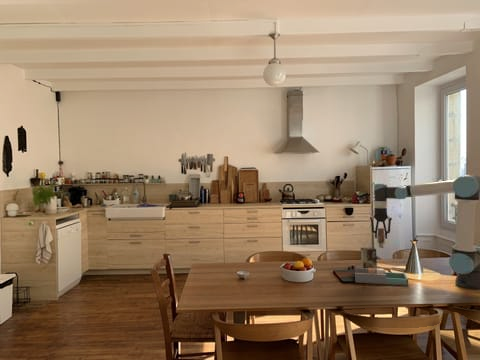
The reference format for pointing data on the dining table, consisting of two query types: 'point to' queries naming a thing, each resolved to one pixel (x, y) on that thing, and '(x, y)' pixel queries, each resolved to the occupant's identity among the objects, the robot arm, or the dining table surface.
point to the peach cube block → (371, 270)
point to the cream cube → (380, 271)
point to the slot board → (369, 276)
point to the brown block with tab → (380, 237)
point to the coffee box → (368, 258)
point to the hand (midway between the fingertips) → (381, 243)
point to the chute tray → (396, 278)
